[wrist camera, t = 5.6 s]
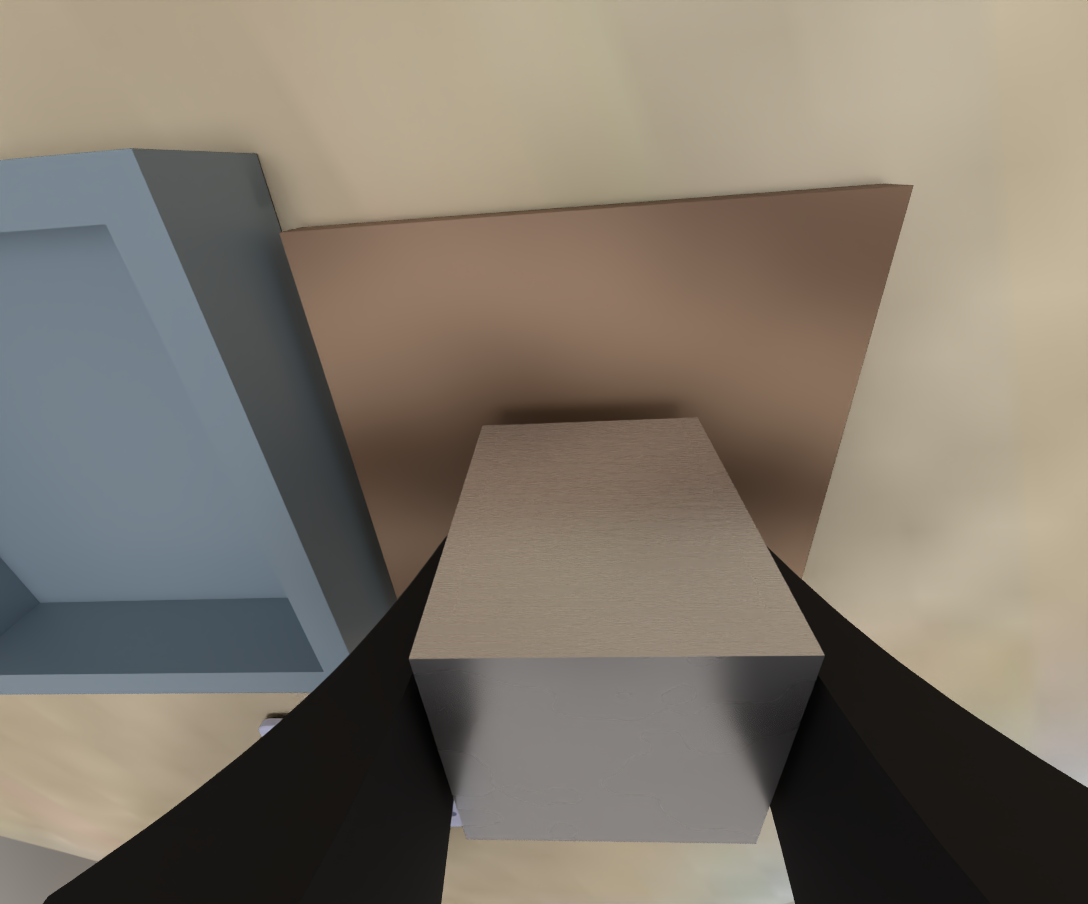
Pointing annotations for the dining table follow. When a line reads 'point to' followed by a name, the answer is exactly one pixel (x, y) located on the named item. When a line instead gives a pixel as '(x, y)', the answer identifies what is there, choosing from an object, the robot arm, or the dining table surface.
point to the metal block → (610, 641)
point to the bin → (168, 439)
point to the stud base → (600, 340)
